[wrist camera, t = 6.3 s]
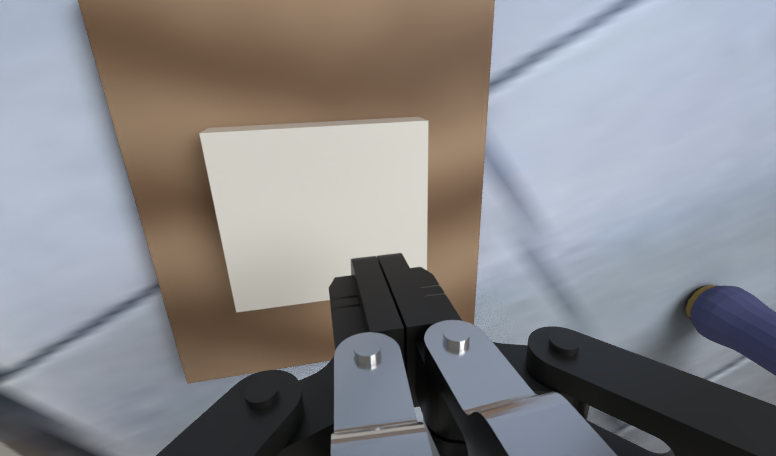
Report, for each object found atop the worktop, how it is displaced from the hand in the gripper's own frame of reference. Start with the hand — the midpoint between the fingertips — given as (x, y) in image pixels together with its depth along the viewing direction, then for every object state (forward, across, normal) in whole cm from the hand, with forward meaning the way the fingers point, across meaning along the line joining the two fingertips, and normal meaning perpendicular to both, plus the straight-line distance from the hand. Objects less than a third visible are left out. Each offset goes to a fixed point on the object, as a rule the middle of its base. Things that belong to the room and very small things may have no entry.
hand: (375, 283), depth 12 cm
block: (+7, -4, 0) cm, 8 cm away
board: (+9, +1, 0) cm, 9 cm away
